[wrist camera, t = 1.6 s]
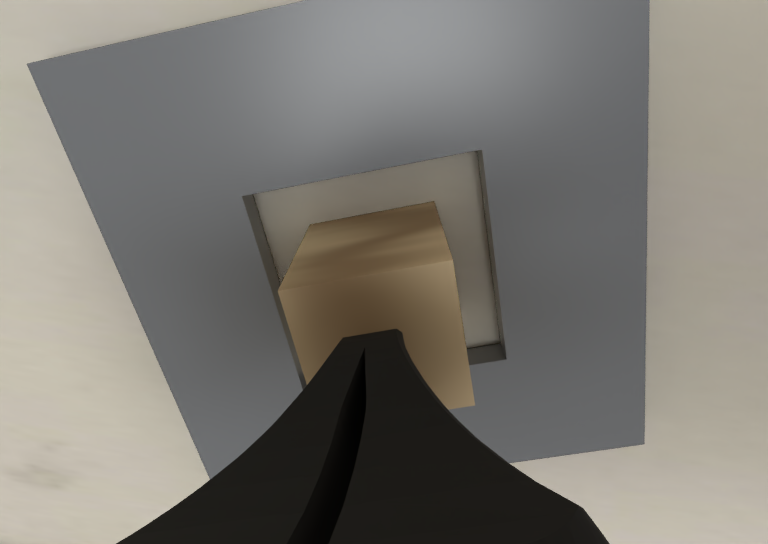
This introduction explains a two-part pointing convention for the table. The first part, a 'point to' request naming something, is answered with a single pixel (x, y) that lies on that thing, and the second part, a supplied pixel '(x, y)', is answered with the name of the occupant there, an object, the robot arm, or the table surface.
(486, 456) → the robot arm
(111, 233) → the pocket board
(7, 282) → the table surface
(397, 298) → the oak block
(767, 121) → the table surface
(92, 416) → the table surface
